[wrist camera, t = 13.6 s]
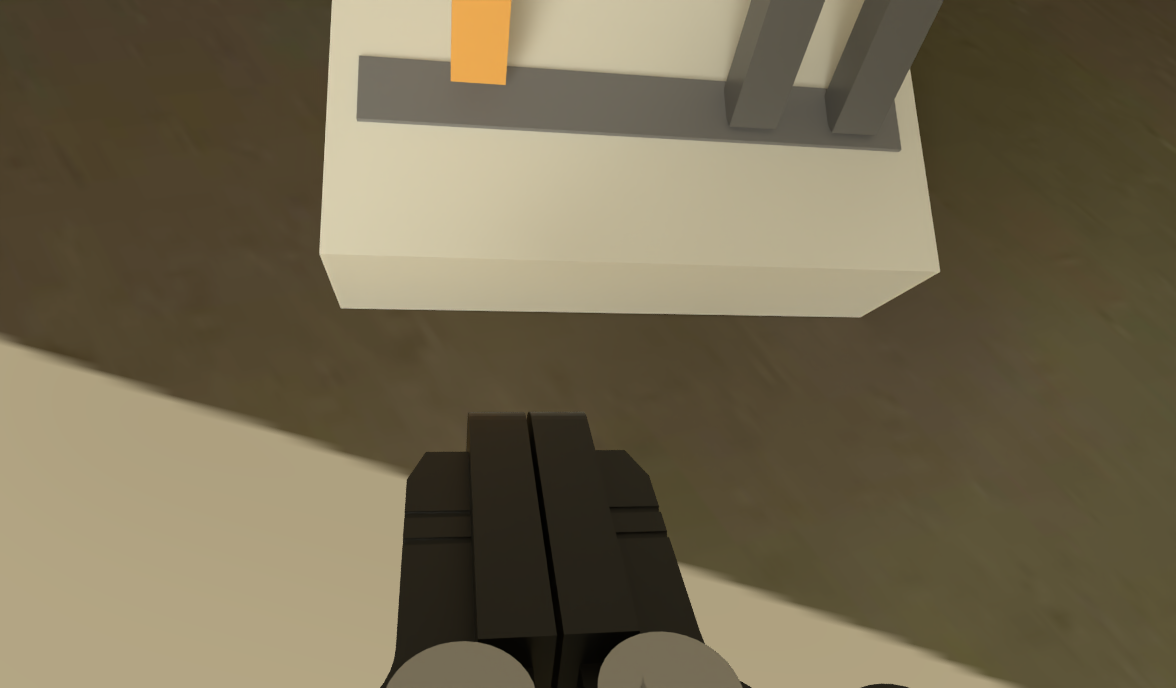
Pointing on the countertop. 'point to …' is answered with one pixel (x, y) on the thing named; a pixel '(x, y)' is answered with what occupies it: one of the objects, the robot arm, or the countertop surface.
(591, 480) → the robot arm
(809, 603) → the countertop surface
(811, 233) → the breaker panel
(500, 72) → the lever
